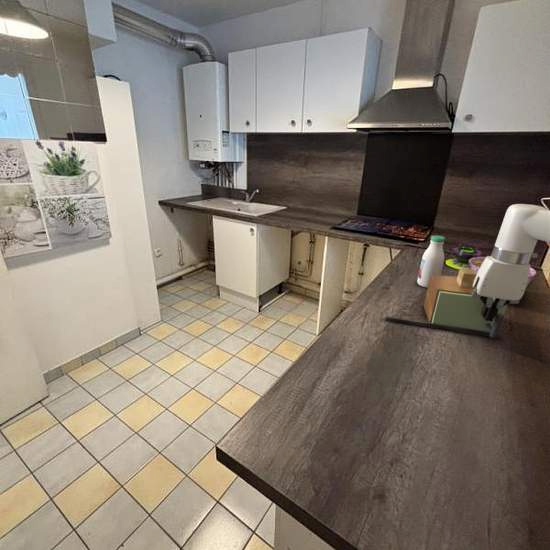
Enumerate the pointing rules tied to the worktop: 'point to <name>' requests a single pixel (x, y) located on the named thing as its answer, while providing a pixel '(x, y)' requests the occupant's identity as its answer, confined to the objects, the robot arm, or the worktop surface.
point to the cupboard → (434, 287)
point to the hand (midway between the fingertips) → (486, 318)
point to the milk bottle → (431, 261)
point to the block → (466, 277)
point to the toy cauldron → (462, 257)
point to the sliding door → (465, 313)
